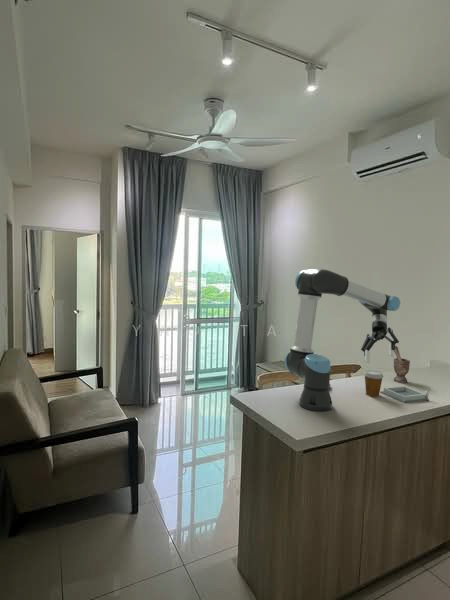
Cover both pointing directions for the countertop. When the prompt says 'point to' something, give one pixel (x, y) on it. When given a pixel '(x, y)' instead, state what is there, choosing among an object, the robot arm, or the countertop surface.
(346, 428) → the countertop surface
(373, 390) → the disposable coffee cup
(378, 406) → the countertop surface
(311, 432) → the countertop surface
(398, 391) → the tray
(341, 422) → the countertop surface
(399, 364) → the mortar and pestle
